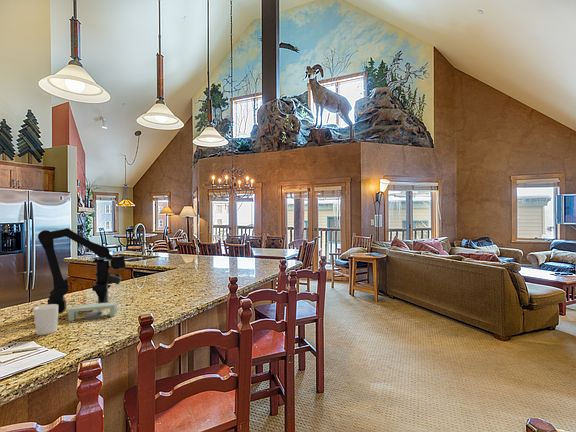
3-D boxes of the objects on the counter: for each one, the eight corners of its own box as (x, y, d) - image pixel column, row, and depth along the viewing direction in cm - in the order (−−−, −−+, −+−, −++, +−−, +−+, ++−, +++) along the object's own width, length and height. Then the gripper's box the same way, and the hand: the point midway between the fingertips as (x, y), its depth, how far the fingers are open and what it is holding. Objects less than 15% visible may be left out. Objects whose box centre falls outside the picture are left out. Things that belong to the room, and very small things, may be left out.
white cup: (53, 327, 135) (52, 303, 135) (62, 330, 131) (62, 305, 131) (30, 333, 129) (29, 308, 129) (39, 337, 125) (39, 310, 125)
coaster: (84, 320, 145) (84, 316, 145) (87, 316, 151) (87, 312, 151) (99, 318, 147) (99, 314, 147) (102, 314, 153) (102, 311, 153)
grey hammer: (90, 314, 151) (89, 301, 151) (99, 303, 171) (99, 291, 171) (100, 314, 153) (99, 301, 153) (108, 302, 172) (108, 291, 172)
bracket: (68, 320, 144) (68, 309, 144) (72, 316, 149) (72, 305, 149) (114, 316, 149) (114, 305, 149) (116, 312, 155) (116, 301, 155)
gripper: (117, 272, 164) (117, 303, 164) (122, 267, 181) (123, 295, 181) (91, 274, 160) (92, 306, 160) (99, 268, 178) (100, 297, 178)
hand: (103, 300), depth 170 cm, fingers closed on grey hammer, 4 cm apart
